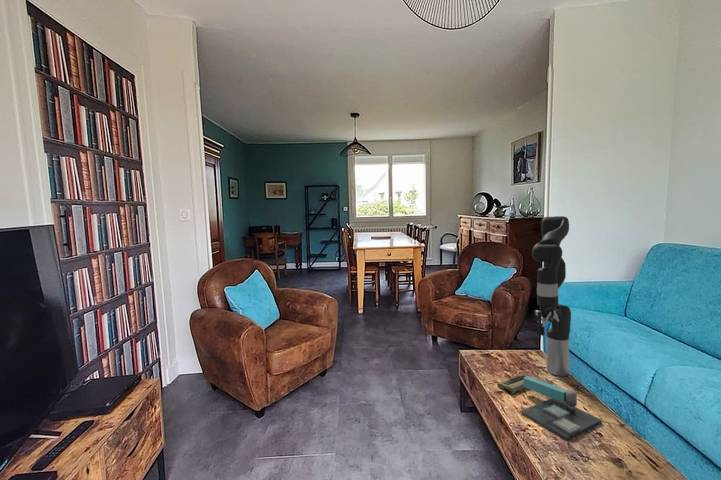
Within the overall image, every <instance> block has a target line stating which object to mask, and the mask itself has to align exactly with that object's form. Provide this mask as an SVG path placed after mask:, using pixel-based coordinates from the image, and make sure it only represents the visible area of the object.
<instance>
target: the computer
mask: <svg viewBox="0 0 721 480" xmlns="http://www.w3.org/2000/svg"><path fill="white" fill-rule="evenodd" d="M526 376H527V375H523V374H519V375H516V376H513V377H510V378H508V379H505V380H502V381H500V382H498V383H497V384H496V385H497V387H498V388H499V389H501V390H503V391H505V392H507V393H508V394H511V395H514V394H516V392H519V393H520V392H521V391H524V390H528V389H527V388H525V387H524V377H526Z"/></svg>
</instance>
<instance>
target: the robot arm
mask: <svg viewBox="0 0 721 480" xmlns="http://www.w3.org/2000/svg"><path fill="white" fill-rule="evenodd" d="M569 232H570V222H569V219H568V217H567V216H561V215H560V216H544V217H543V218H542V219H541V236H542V237H541V238H542V239H541V240H540V241H539V242H537V243H536V244H535V245H533V247H532V250H531V257H532V259H533V260H534V261H535V262H540V263H543V267H539V268H538V269H537V274H536V275H537V285H536V303H537V305H538V306H539V310H537V309H535V310H534V311H533V325H534V326H537V334H538V335H539V336H542V337H543V336H545V325H546V323H547V322H550V323H551V328H549V329H547V330H546V371H547V372H548V373H549V374H551V375H554V376H559V377H565V376H568V375H570V374H569V373H570V370H571V369H570V368H571V365H570V364H571V363H570V360H571V359H570V358H571V353H570V333H571V321H572V312H571V308H570V307H569V306H568V305H564V304H560V303H559V288H561V286H562V285H563V283H564V282H565V279H566V276H567V274H566V273H567V271H566V270H567V268H566V265H567V264H566V262H565V261H564V259H563V257H562V256H563V248H562V247H561V246H560V245H561V242H562V241H563V240H564V239H565V238H566V236H567V235H568V233H569Z"/></svg>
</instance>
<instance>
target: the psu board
mask: <svg viewBox="0 0 721 480" xmlns="http://www.w3.org/2000/svg"><path fill="white" fill-rule="evenodd" d="M520 412H521V415H523V416H524V417H526V418H528V419H529V420H531V421H532V422H535V423H536V424H538V425H540V426H542V427H543V428H545V429H546V430H548V431H550V432H552V433H553V434H555V435H556V436H559V437H560V438H562V439H563V440H565V441H567V442H568V441H569V440H571V439H573V438H575V437H577V436H579V435H581V434H583V433H585V432H588V431H589V430H591V429H593V428H595V427H596V426H599V425H601V424H603V423H602V422H603V420H602V419H600V418H598V417H597V416H595V415H592V414H591V413H588V412H586V411H585V410H582V409H580V408H579V407H576V406H570V405H568V404H566V401H565V402H564V403H563V402H561V401H558V400H556V399H553V398H549V399H547V400H544V401H542V402H540V403H536V404H534V405H532V406H529V407H527V408H525V409H522V410H521V411H520Z"/></svg>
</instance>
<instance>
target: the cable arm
mask: <svg viewBox="0 0 721 480" xmlns="http://www.w3.org/2000/svg"><path fill="white" fill-rule="evenodd" d="M525 376H526V377H524V387H525V388H527V389H526V390H530V391H532V392H535V393H539V394H541V395H543V396H545V397H548V398H549V399H551V398H553V399H556V400H558V401H561V402H563V403H564V402H566V404H568V405H570V406H575V407H576V406H577V405H578V404H577V403H578V400H577V397H578V396H577V395H578V394H577V392H575V391H574V390H571V389H570V390H568V389H565V388H562V387H559V386H557V385H553V384H552V383H548V382H545V381H544V380H543V381H542V380H540V379H537V378H535V377H532V376H528V375H525Z"/></svg>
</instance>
